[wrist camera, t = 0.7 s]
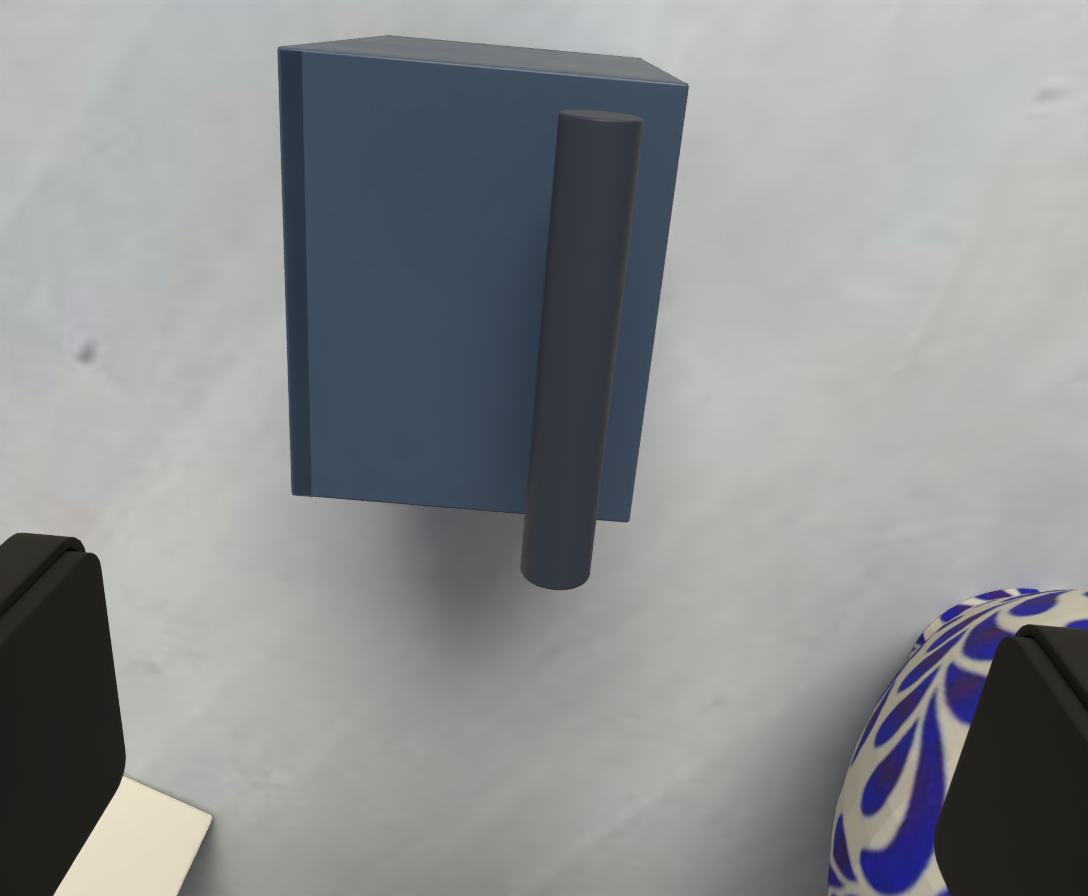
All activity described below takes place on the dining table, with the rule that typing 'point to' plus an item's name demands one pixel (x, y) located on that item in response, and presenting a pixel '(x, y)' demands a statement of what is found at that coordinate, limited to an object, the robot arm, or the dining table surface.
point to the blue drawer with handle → (475, 278)
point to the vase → (926, 743)
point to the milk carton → (138, 846)
